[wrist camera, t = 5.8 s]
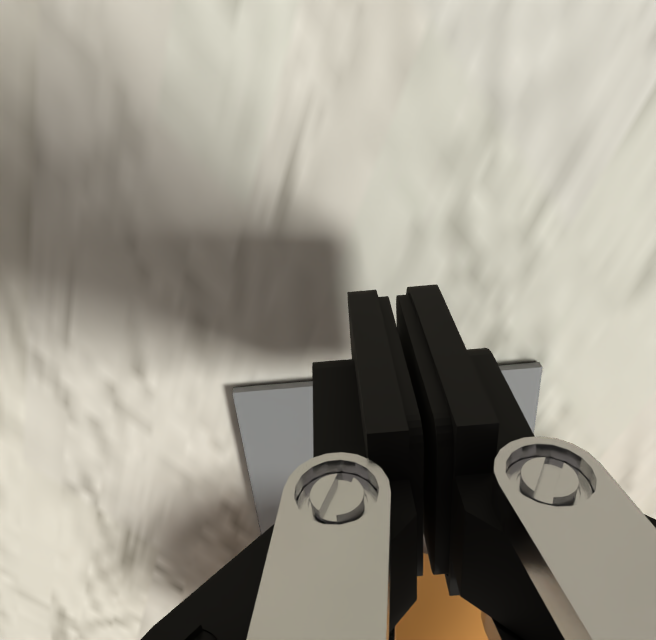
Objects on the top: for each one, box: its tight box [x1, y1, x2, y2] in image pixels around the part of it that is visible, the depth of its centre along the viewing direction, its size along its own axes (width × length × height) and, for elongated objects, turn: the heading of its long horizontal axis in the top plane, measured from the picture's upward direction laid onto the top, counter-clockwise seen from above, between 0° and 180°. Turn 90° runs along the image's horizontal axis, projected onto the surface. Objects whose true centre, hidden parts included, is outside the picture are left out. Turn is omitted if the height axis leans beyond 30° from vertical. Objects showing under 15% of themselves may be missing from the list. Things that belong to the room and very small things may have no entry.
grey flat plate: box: [232, 362, 542, 554], centre depth 15 cm, size 8×7×1 cm
